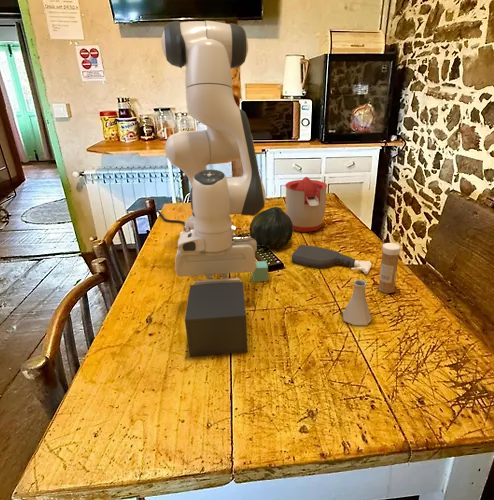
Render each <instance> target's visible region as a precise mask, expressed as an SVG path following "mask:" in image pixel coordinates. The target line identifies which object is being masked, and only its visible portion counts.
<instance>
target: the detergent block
mask: <svg viewBox="0 0 494 500" xmlns="http://www.w3.org/2000/svg"><path fill="white" fill-rule="evenodd" d="M251 275H252V277H251V278H252V282H253V283H254V282H268V281H269V267H268V262H267V260H260V261H259V260H258V261H257V260H256V270H255V271H254V272H251Z"/></svg>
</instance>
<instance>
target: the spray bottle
mask: <svg viewBox="0 0 494 500" xmlns="http://www.w3.org/2000/svg"><path fill="white" fill-rule="evenodd" d="M291 262H293V263H294V264H297V265H300V266H306V267H310V268H315V269H316V268H317V269H326V268H331V267H333V266H335V265H340V266H345V267H350V270H352V271H362V272H363V274H364V275H367V274H368V273H369V272H370V270H371V268H372V262H371V261H370V260H358V259H355V258H353V257H351V256H349V255H346V254H343V253H341V252H339V251H336V250H333V249H330V248H325V247H320V246H315V245H308V244H300V245H299V246H298V247H297V248H296V249H295V250H294V251H293V252H292V254H291Z"/></svg>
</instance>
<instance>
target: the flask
mask: <svg viewBox="0 0 494 500" xmlns="http://www.w3.org/2000/svg"><path fill="white" fill-rule="evenodd" d="M352 285H353V291H352V294H351V297H350V299H349V301H348V303H347V305H346V307H345V308H344V309H343V312H342V319H343V321H344V322H346V323H348V324H351V325H353V326H368V325H369V323H370V322H372V319H373V318H372V315H371V312H370V309H369V305H368V300H367V297H366V288H367V286H368V283H367V281H366V280H363V279H355V280H354V281H353V283H352Z"/></svg>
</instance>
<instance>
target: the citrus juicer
mask: <svg viewBox="0 0 494 500" xmlns="http://www.w3.org/2000/svg"><path fill="white" fill-rule="evenodd" d="M284 187H285V211H286V212H285V213H286V214H287V215H288V216H289V217H290V219H291V221H292V224H293V231H297V232H299V233H301V232H304V233H306V232H307V233H308V232H309V233H310V232H315V231H318V230H319V229H320V228H321V226H322V224H323V221H324V218H325V214H326V208H327V207H326V205H327V204H326V203H327V188H328V184H327V183H326V182H324V181H321V180H317V179H316V180H315V179H310V178H309V177H308V176H305V177H303V178H302V179H296V180H291V181H288V182H286V183H285V186H284Z"/></svg>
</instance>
